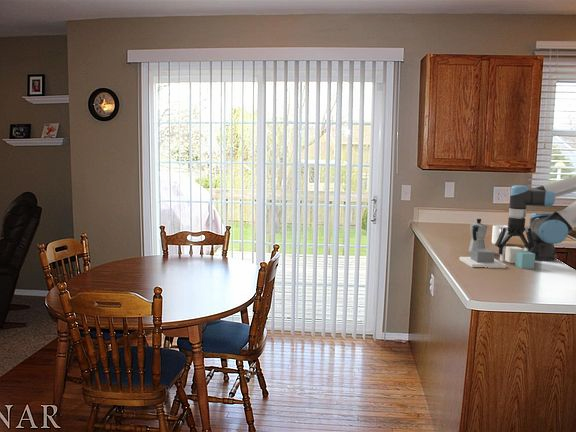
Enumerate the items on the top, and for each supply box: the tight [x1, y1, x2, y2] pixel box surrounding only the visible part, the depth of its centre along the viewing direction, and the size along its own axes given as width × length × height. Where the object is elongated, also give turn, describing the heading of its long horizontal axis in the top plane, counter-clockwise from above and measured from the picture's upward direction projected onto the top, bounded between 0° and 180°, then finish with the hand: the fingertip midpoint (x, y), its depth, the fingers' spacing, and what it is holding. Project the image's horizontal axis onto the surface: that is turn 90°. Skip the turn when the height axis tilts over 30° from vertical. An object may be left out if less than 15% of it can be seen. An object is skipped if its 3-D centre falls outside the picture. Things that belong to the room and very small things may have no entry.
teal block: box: [514, 251, 536, 270], centre depth 231 cm, size 6×6×7 cm
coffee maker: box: [468, 218, 488, 253], centre depth 262 cm, size 15×9×18 cm, turn 144°
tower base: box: [459, 248, 507, 269], centre depth 236 cm, size 16×16×6 cm
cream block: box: [504, 246, 524, 264], centre depth 242 cm, size 6×6×7 cm
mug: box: [491, 224, 509, 246], centre depth 286 cm, size 9×12×11 cm
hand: (513, 261), depth 242 cm, fingers open, 11 cm apart
